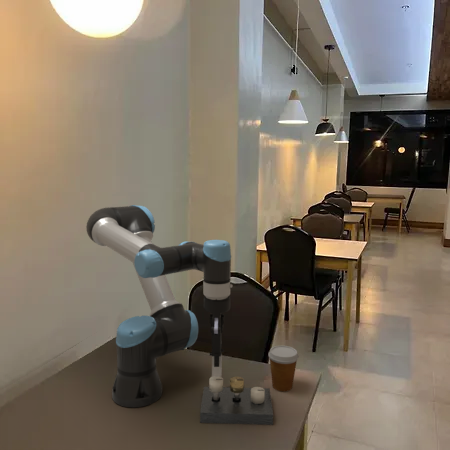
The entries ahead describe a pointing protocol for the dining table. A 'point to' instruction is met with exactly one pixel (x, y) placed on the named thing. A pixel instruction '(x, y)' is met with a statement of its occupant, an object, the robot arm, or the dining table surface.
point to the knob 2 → (257, 395)
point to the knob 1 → (215, 386)
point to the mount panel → (235, 408)
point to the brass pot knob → (236, 386)
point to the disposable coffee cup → (283, 367)
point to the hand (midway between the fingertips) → (216, 375)
